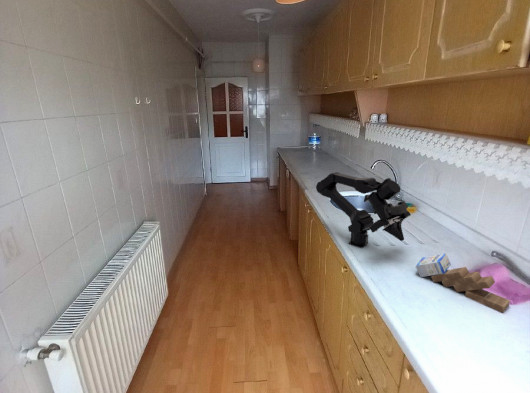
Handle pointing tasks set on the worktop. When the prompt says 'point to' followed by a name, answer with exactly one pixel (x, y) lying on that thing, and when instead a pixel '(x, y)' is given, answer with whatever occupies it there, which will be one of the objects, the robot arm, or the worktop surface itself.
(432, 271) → the medicine box
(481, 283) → the walnut domino
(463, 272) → the walnut domino
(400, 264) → the worktop surface
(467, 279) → the walnut domino
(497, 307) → the walnut domino
